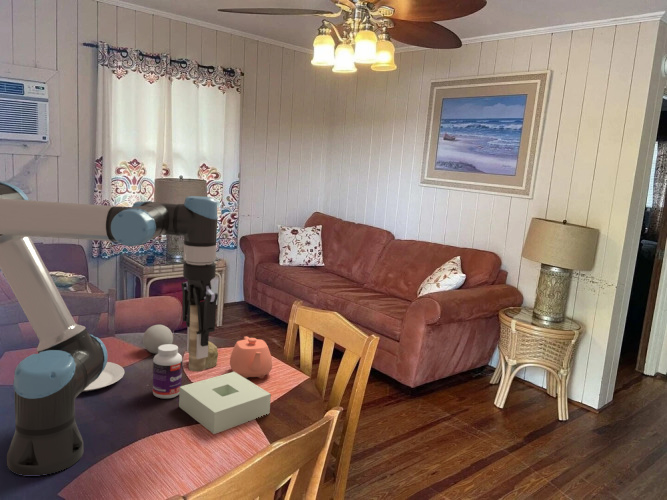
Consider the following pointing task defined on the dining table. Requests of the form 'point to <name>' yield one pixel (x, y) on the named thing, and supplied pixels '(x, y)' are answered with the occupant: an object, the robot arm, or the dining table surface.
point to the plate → (107, 376)
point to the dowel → (194, 341)
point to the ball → (157, 337)
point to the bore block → (224, 401)
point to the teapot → (251, 358)
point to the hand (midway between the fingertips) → (197, 354)
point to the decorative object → (211, 356)
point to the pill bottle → (167, 372)
